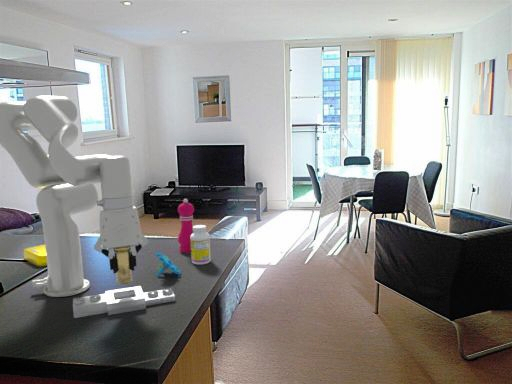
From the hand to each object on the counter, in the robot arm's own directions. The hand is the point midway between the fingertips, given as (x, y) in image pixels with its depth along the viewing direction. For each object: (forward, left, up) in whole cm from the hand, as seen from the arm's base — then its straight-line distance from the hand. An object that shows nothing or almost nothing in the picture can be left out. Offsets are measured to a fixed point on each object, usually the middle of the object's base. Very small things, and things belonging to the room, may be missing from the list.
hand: (123, 269), depth 121 cm
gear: (+17, +19, -11) cm, 28 cm away
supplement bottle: (+28, +27, -10) cm, 40 cm away
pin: (0, 0, -3) cm, 3 cm away
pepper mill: (+27, +43, -10) cm, 52 cm away
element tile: (-21, +56, -11) cm, 61 cm away
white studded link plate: (0, 0, -10) cm, 10 cm away
